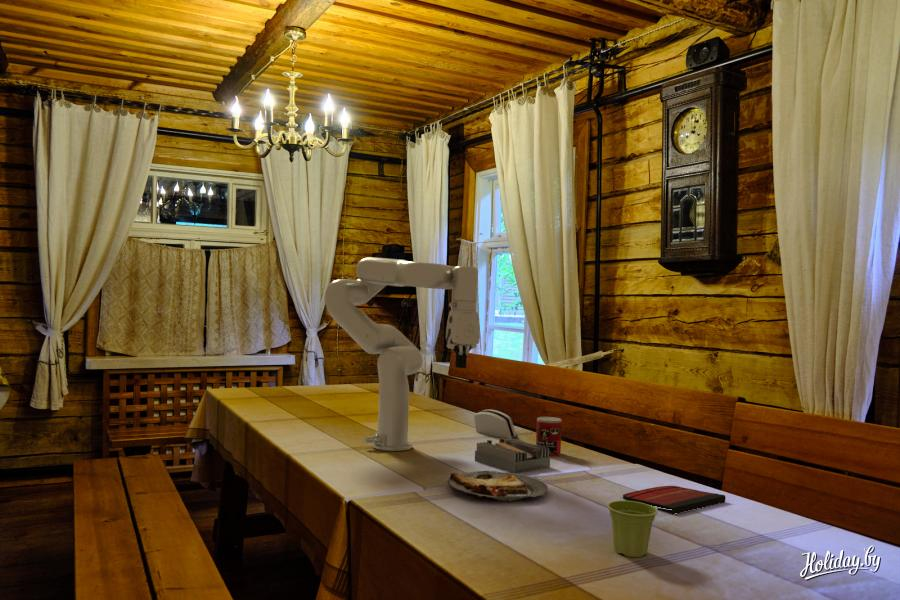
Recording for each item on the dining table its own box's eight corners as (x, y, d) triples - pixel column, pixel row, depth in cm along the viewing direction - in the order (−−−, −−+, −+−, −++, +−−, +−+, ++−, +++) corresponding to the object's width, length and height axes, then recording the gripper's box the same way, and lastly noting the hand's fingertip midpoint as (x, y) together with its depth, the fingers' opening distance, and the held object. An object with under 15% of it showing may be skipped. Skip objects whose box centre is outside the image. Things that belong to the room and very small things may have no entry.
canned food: (532, 454, 220) (533, 419, 220) (540, 449, 227) (542, 415, 227) (555, 457, 216) (556, 421, 216) (563, 453, 223) (565, 418, 223)
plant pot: (647, 544, 141) (648, 501, 141) (662, 561, 132) (664, 515, 132) (600, 543, 141) (602, 499, 141) (613, 560, 132) (614, 514, 132)
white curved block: (519, 437, 245) (514, 411, 243) (510, 444, 242) (505, 417, 240) (485, 429, 257) (479, 404, 255) (476, 435, 254) (470, 410, 252)
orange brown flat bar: (523, 457, 200) (524, 455, 200) (495, 445, 209) (495, 443, 209) (530, 456, 202) (531, 454, 201) (502, 444, 211) (502, 442, 211)
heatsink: (514, 473, 194) (515, 452, 194) (474, 460, 208) (475, 441, 208) (549, 467, 203) (550, 447, 203) (509, 455, 216) (509, 436, 216)
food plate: (461, 505, 162) (462, 490, 162) (436, 480, 185) (437, 466, 185) (561, 504, 169) (562, 489, 169) (525, 480, 191) (526, 467, 191)
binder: (725, 494, 174) (673, 507, 161) (726, 504, 174) (673, 517, 161) (670, 482, 187) (618, 493, 174) (670, 491, 187) (618, 502, 174)
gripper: (452, 306, 205) (449, 369, 205) (490, 308, 214) (487, 368, 214) (436, 305, 211) (433, 367, 211) (474, 307, 220) (471, 365, 220)
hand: (460, 367), depth 212 cm, fingers closed
